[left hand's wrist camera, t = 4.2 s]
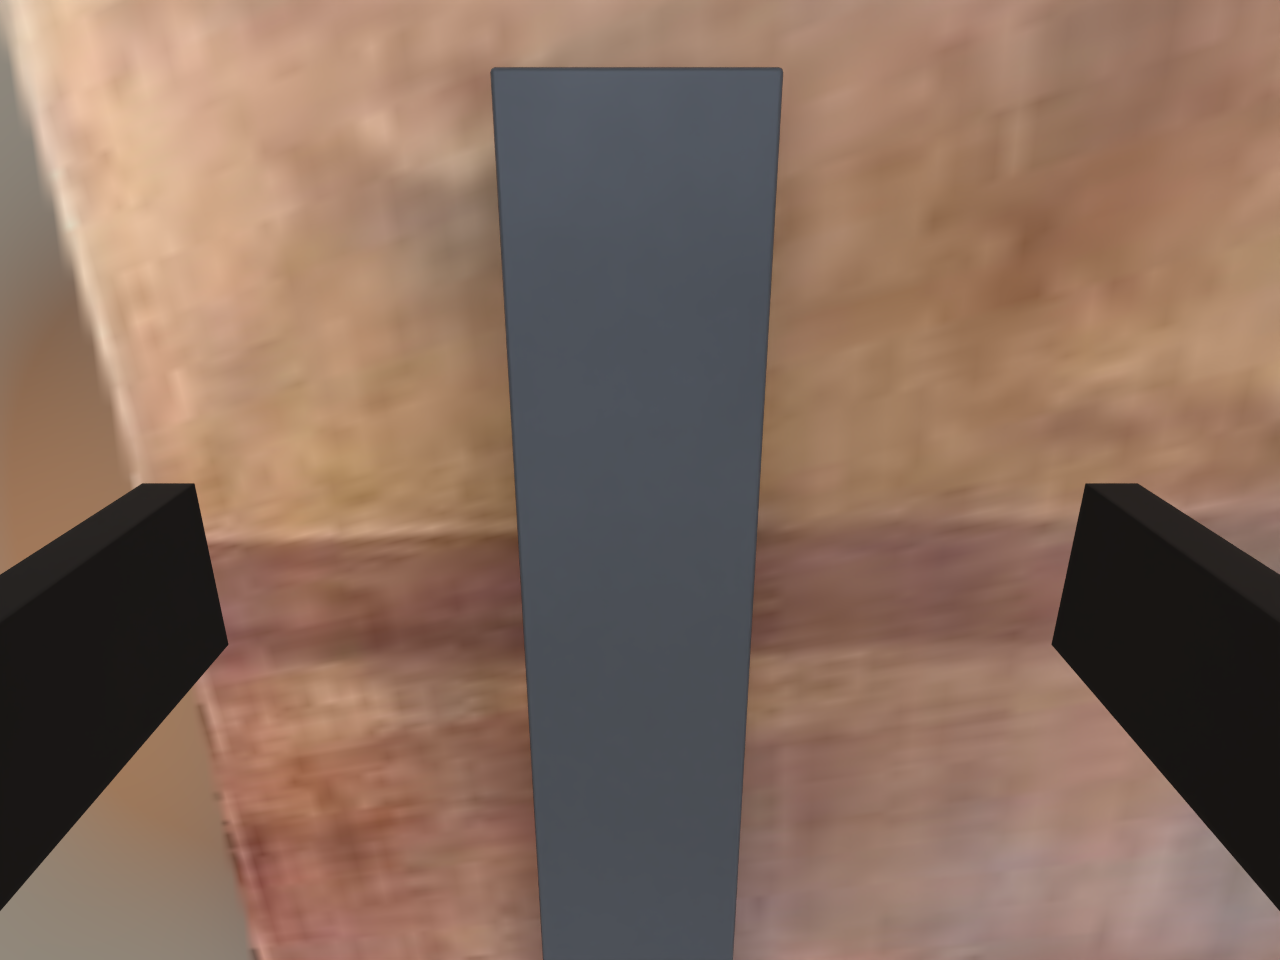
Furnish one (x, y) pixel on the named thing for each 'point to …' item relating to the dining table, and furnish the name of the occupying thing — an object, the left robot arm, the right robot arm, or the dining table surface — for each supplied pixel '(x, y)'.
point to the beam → (637, 481)
